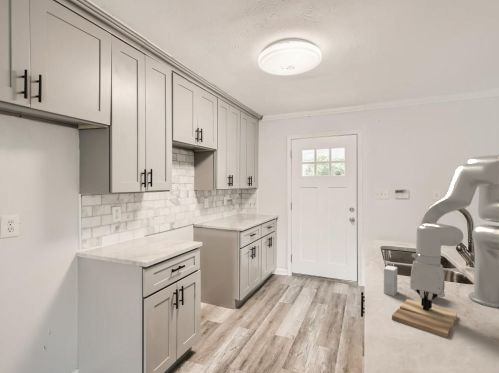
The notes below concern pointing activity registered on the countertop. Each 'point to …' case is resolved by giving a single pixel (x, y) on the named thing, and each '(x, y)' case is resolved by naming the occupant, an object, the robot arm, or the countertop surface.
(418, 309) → the oak plank
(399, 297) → the countertop surface
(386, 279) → the skincare box
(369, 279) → the countertop surface
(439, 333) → the floor board
